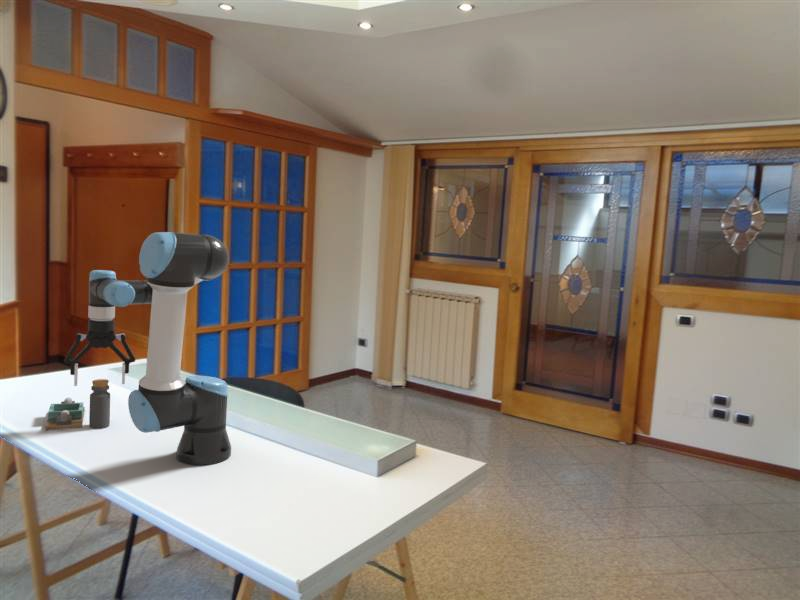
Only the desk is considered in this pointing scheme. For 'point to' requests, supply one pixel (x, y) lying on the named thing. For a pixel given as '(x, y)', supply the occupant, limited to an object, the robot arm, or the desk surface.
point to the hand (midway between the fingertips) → (99, 384)
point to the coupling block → (65, 415)
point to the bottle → (99, 404)
